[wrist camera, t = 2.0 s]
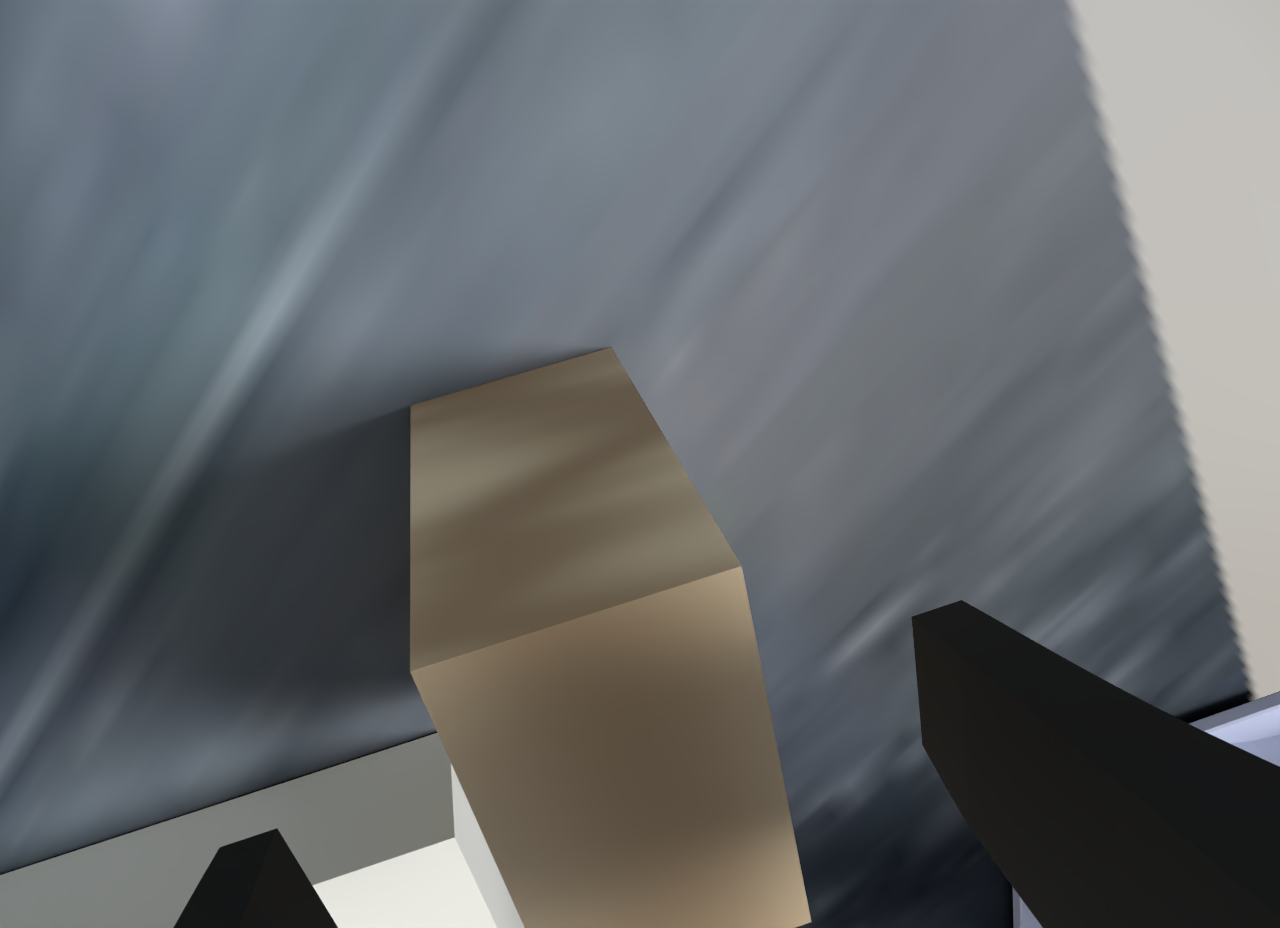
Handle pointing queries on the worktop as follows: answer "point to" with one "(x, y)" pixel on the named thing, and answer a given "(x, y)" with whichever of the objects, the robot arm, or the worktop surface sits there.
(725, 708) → the block
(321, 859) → the board
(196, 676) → the worktop surface
